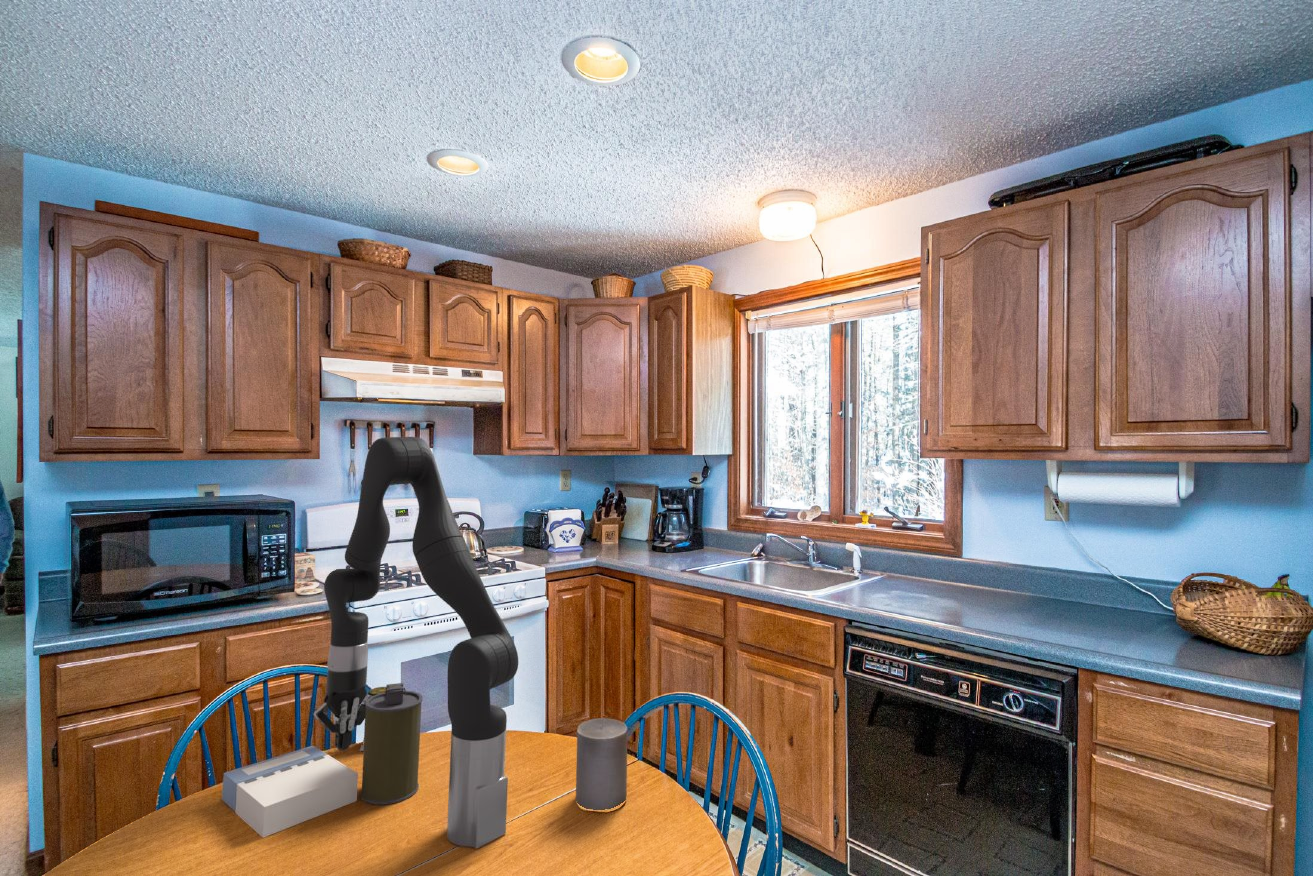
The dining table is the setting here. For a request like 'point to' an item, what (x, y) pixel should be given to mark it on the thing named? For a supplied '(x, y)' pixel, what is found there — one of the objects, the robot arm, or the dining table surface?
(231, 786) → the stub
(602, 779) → the pillar candle
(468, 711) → the robot arm
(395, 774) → the canister
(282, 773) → the white box
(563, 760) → the dining table surface
